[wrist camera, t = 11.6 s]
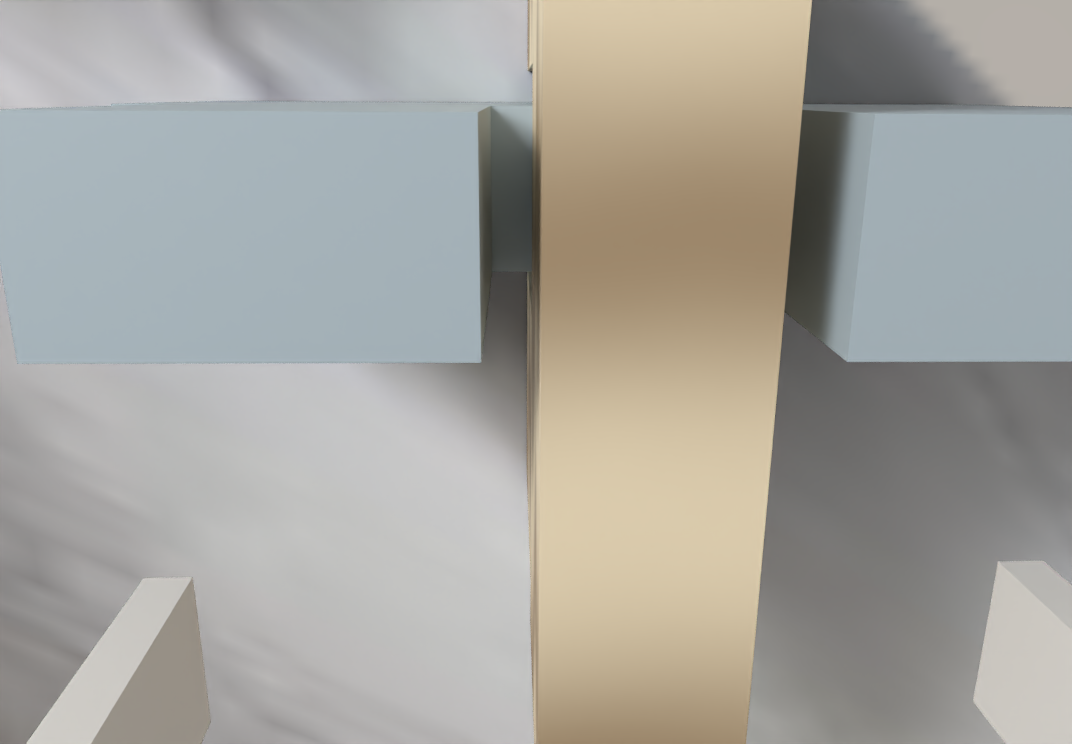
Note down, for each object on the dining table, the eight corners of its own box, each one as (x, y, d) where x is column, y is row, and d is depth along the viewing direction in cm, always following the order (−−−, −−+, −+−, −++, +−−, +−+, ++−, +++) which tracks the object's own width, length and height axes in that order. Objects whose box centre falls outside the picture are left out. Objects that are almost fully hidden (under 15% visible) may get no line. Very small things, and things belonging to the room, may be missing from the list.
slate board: (229, 226, 22) (-66, 364, 11) (218, 101, 22) (-117, 110, 10) (941, 227, 23) (1367, 361, 11) (957, 104, 22) (1438, 116, 11)
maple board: (634, 500, 25) (736, 844, 14) (526, 500, 25) (537, 847, 13) (665, -252, 20) (876, -732, 8) (528, -254, 20) (548, -741, 8)
